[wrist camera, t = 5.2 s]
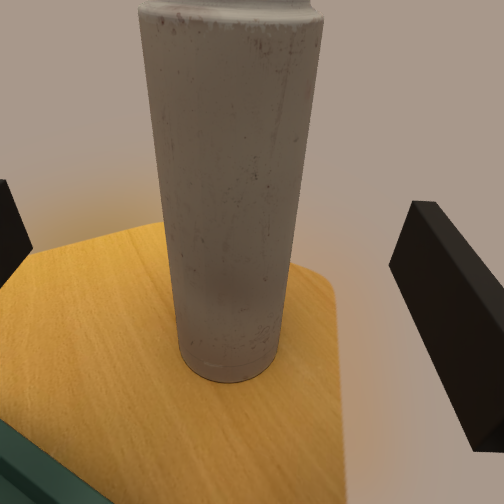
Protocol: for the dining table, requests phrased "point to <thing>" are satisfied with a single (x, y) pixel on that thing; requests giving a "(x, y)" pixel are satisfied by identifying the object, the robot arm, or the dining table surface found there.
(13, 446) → the box
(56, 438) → the dining table surface
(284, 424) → the dining table surface
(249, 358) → the thermos bottle
